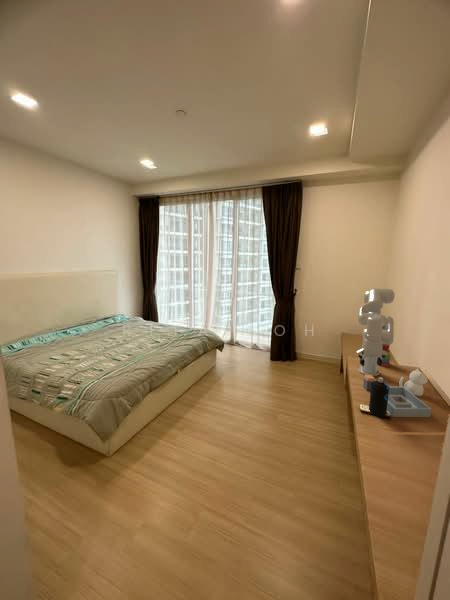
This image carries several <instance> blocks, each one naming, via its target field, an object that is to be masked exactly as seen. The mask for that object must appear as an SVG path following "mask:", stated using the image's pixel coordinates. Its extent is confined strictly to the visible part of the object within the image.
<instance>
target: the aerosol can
mask: <svg viewBox="0 0 450 600" xmlns="http://www.w3.org/2000/svg"><path fill="white" fill-rule="evenodd" d="M390 387H391V386H389V385H388V383H386V382H385V381H384V378H383V377H382V376H381V377H380V376H379V377H378V380H374V381H373V382H371V391H369V392H370V394H369V404H368V411H369V410H370V411H369V412H370V414H372V415H374V416H376V417H382V418H383V417H386V416H387V412H388V411H387V403H388V395H389V389H390Z"/></svg>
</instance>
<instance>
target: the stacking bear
mask: <svg viewBox="0 0 450 600" xmlns="http://www.w3.org/2000/svg"><path fill="white" fill-rule="evenodd" d="M390 345H391V344H390ZM390 345H387V344H382V350H384V351H386V352H387V355H386V357H384V358H383V360H382V364H381V366H380V367H384V368H385V367H386V366H387V367H389V366H390V360H391V359H392V356H391V351H390ZM382 354H383V352H382ZM388 365H389V366H388Z"/></svg>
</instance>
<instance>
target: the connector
mask: <svg viewBox="0 0 450 600" xmlns="http://www.w3.org/2000/svg"><path fill="white" fill-rule="evenodd" d="M375 379H376V378H375V376H372V375H365V374H363V389H364V390H365V391H367V392H371V382H373V381H376V380H375Z"/></svg>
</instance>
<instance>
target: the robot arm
mask: <svg viewBox="0 0 450 600" xmlns="http://www.w3.org/2000/svg"><path fill="white" fill-rule="evenodd" d="M394 299H395V291H394V290H393V289H391V288H373V289H372V288H371V289H370V290H367V291H366V292H364V294H363V303H364V304H363V305H362V306H361V307H360V308H359V310H358V315H357V322H358V324H359V325H362V326H366V328H364V329H363V330H362V333H361V334H362V344H361V347H360V348H361V349H359V350H357V351H356V355H357V357H359V364H360V366H359V367H358V372H359V373H361V374H363V375H372V376H373V377H377V376H379V375H380V371H379V370H378V366H379V367H382V366H381V364H382V360H383V358H384V357H386V355H387V352H386V351H384V350H382V344H387V345H392V344H393V343H394V336H395V335H394V333H395V332H394V330H395V327H394V326H395V323H394V318H393V317H392V316H390V315H389V316H388V315H383V314H381V313H382V311H381V309H383V306H384V304H392V303H393V302H394ZM382 352H383V354H382Z"/></svg>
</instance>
